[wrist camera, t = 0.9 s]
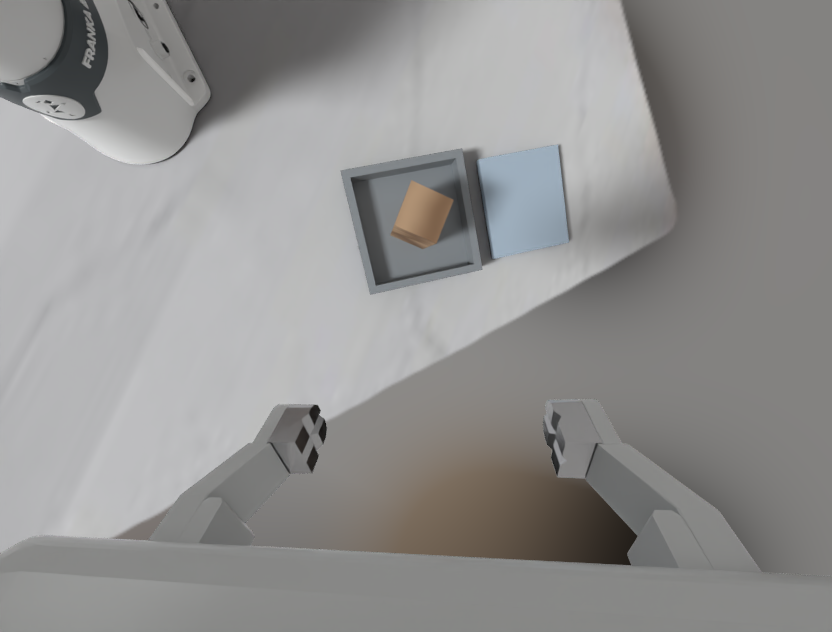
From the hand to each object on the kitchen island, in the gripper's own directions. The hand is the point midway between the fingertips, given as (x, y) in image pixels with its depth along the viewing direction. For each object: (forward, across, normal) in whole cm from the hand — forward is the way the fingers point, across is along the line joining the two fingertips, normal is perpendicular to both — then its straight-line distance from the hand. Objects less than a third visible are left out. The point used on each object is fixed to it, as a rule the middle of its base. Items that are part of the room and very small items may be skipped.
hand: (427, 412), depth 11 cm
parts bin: (+36, +4, +4) cm, 36 cm away
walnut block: (+35, +4, +3) cm, 35 cm away
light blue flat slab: (+41, -12, +3) cm, 42 cm away
